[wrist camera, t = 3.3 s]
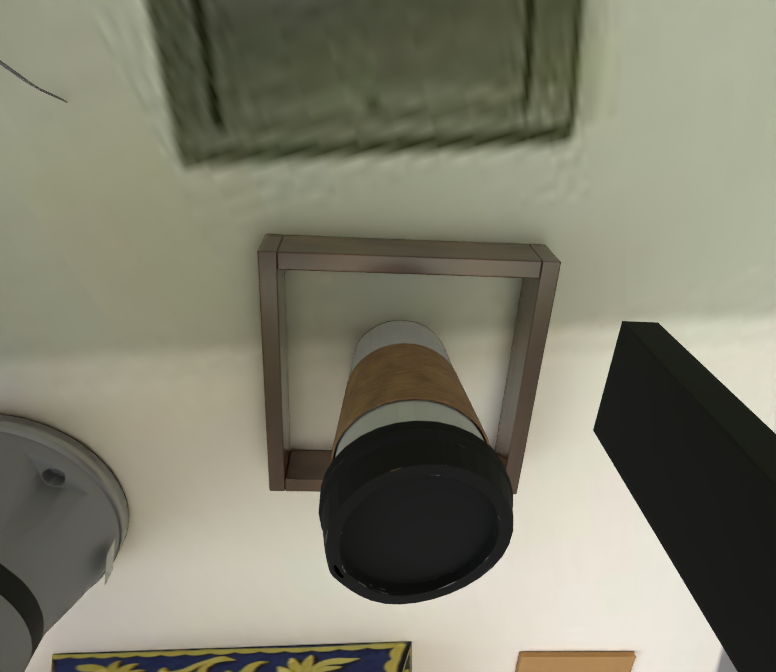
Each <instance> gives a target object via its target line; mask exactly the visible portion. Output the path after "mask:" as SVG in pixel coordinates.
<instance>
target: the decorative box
mask: <svg viewBox="0 0 776 672" xmlns="http://www.w3.org/2000/svg"><path fill="white" fill-rule="evenodd" d="M52 672H412V657H411V642H394V643H366V644H338V645H310V646H282V647H254V648H226V649H198V650H171V651H143V652H115V653H87V654H59V655H52Z"/></svg>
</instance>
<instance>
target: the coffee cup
mask: <svg viewBox="0 0 776 672" xmlns="http://www.w3.org/2000/svg"><path fill="white" fill-rule="evenodd" d="M512 508H513V490H512V486H511V482H510V478H509V476H508V474H507V472H506V468H505V466H504V464H503V463H502V461H501V459H500V457H499V456H498V454H497V453H496V452H495V451H494V450H493V449H492V448H491V447H490V445H489V441H488V438H487V436H486V434H485V432H484V430H483V428H482V426H481V424H480V421H479V419H478V417H477V415H476V413H475V411H474V409H473V407H472V405H471V403H470V401H469V399H468V397H467V395H466V393H465V391H464V389H463V387H462V385H461V382H460V380H459V378H458V376H457V374H456V372H455V371H454V369H453V367H452V365H451V362H450V360H449V358H448V355H447V353H446V351H445V348H444V347H443V345H442V343H441V341H440V340H439V338H438V337H437V336H436V335H435V334H434V333H433V332H432V331H431V330H429V329H428V328H427V327H425V326H423V325H420V324H418V323H415V322H411V321H400V320H399V321H390V322H387V323H383V324H380V325H378V326H376V327H374V328H373V329H371V330H370V331H369V332H367V333H366V334H365V335H364V336H363V337H362V339H361V340H360V341H359V343H358V344H357V346H356V348H355V351H354V355H353V358H352V363H351V369H350V375H349V380H348V383H347V387H346V391H345V396H344V400H343V405H342V409H341V413H340V418H339V422H338V427H337V431H336V436H335V440H334V444H333V449H332V453H331V464H330V466H329V467H328V469H327V471H326V472H325V475H324V478H323V481H322V485H321V490H320V504H319V517H320V522H321V527H322V530H323V537H324V546H325V553H326V559H327V563H328V567H329V570H330V573H331V574H332V576H333V577H334V578H335V579H337V580H338V581H339V582H340V583H342V584H343V585H344V586H346V587H347V588H348V589H350V590H351V591H353V592H355V593H356V594H358V595H360V596H362V597H364V598H367V599H369V600H371V601H376V602H380V603H384V604H408V603H417V602H422V601H426V600H431V599H435V598H438V597H441V596H444V595H447V594H450V593H452V592H454V591H456V590H459V589H461V588H463V587H465V586H467V585H469V584H470V583H472V582H474V581H475V580H477V579H479V578H480V577H481V576H483V575H484V574H485V573H486V572H488V571H489V570H490V569H491V568H492V567H493V566H494V565H495V564H496V563H497V562H498V561H499V559H500V558H501V557H502V556H503V554H504V552H505V551H506V549H507V547H508V545H509V543H510V539H511V536H512V532H513V510H512Z"/></svg>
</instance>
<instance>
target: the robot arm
mask: <svg viewBox="0 0 776 672" xmlns="http://www.w3.org/2000/svg"><path fill="white" fill-rule="evenodd" d="M593 431H594V432H595V434H596V436H597V437H598V439H599V441H600V442H601V444H602V446H603V447H604V449H605V451H606V452H607V454H608V456H609V457H610V459H611V461H612V463H613V464H614V466H615V468H616V469H617V471H618V473H619V474H620V476H621V478H622V479H623V481H624V483H625V484H626V486H627V488H628V489H629V491H630V493H631V494H632V496H633V498H634V499H635V501H636V503H637V504H638V506H639V508H640V509H641V511H642V513H643V514H644V516H645V518H646V519H647V521H648V523H649V524H650V526H651V528H652V529H653V531H654V533H655V534H656V536H657V538H658V539H659V541H660V543H661V544H662V546H663V548H664V549H665V551H666V553H667V554H668V556H669V558H670V559H671V561H672V563H673V564H674V566H675V568H676V569H677V571H678V573H679V574H680V576H681V578H682V579H683V581H684V583H685V584H686V586H687V588H688V589H689V591H690V593H691V594H692V596H693V598H694V599H695V601H696V603H697V604H698V606H699V608H700V609H701V611H702V613H703V615H704V616H705V618H706V620H707V621H708V623H709V625H710V626H711V628H712V630H713V631H714V633H715V635H716V636H717V638H718V640H719V641H720V643H721V645H722V646H723V648H724V650H725V651H726V653H727V655H728V656H729V658H730V660H731V661H732V663H733V665H734V666H735V668H736V669H737V671H738V672H776V434H775V433H774V432H773V431H772V430H771V429H770V428H769V427H768V426H767V425H766V424H765V423H763V422H762V421H761V420H760V419H759V418H758V417H757V416H756V415H755V414H754V413H753V412H752V411H751V410H750V409H749V408H748V407H747V406H745V405H744V404H743V403H742V402H741V401H740V400H739V399H738V398H737V397H736V396H735V395H734V394H733V393H732V392H731V391H730V390H729V389H728V388H726V387H725V386H724V385H723V384H722V383H721V382H720V381H719V380H718V379H717V378H716V377H715V376H714V375H713V374H712V373H711V372H710V371H708V370H707V369H706V368H705V367H704V366H703V365H702V364H701V363H700V362H699V361H698V360H697V359H696V358H695V357H694V356H693V355H692V354H691V353H689V352H688V351H687V350H686V349H685V348H684V347H683V346H682V345H681V344H680V343H679V342H678V341H677V340H676V339H675V338H674V337H673V336H671V335H670V334H669V333H668V332H667V331H666V330H665V329H664V328H663V327H662V326H661V325H660V324H659V323H653V322H629V321H622V324H621V328H620V332H619V335H618V339H617V343H616V347H615V350H614V354H613V358H612V362H611V365H610V369H609V373H608V377H607V380H606V384H605V388H604V392H603V395H602V399H601V403H600V407H599V410H598V414H597V418H596V422H595V425H594V429H593ZM128 522H129V514H128V507H127V503H126V499H125V496H124V494H123V491H122V489H121V487H120V485H119V483H118V481H117V480H116V478H115V477H114V475H113V474H112V473H111V471H110V470H109V469H108V468H107V466H106V465H105V464H104V463H103V462H102V461H101V460H100V459H99V458H98V457H97V456H96V455H94V454H93V453H92V452H91V451H90V450H88V449H87V448H86V447H84V446H83V445H82V444H80V443H79V442H77V441H76V440H74V439H72V438H71V437H69V436H67V435H65V434H63V433H61V432H60V431H57V430H55V429H53V428H51V427H48V426H46V425H43V424H40V423H37V422H34V421H31V420H27V419H23V418H19V417H14V416H8V415H0V672H24V671H25V669H26V667H27V666H28V664H29V662H30V660H31V658H32V656H33V654H34V652H35V650H36V649H37V647H38V645H39V643H40V641H41V639H42V638H43V636H44V634H45V633H46V632H47V631H48V630H49V629H50V628H51V627H52V626H53V625H54V624H55V623H56V622H57V621H58V620H59V619H60V618H61V617H62V616H63V615H64V614H65V613H66V612H67V611H68V610H69V609H70V608H71V607H72V606H73V605H74V604H75V603H76V602H77V601H78V600H79V599H80V598H81V597H82V596H83V595H84V593H85V592H86V591H87V590H88V589H89V588H91V587H92V586H93V585H94V584H96V583H97V582H98V581H99V580H100V579H101V578H102V577H103V575H104V574H105V585H106V582H107V580H108V578H109V576H110V574H111V572H112V570H113V562H114V560H115V558H116V556H117V554H118V552H119V550H120V548H121V546H122V544H123V541H124V539H125V537H126V533H127V529H128Z"/></svg>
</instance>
